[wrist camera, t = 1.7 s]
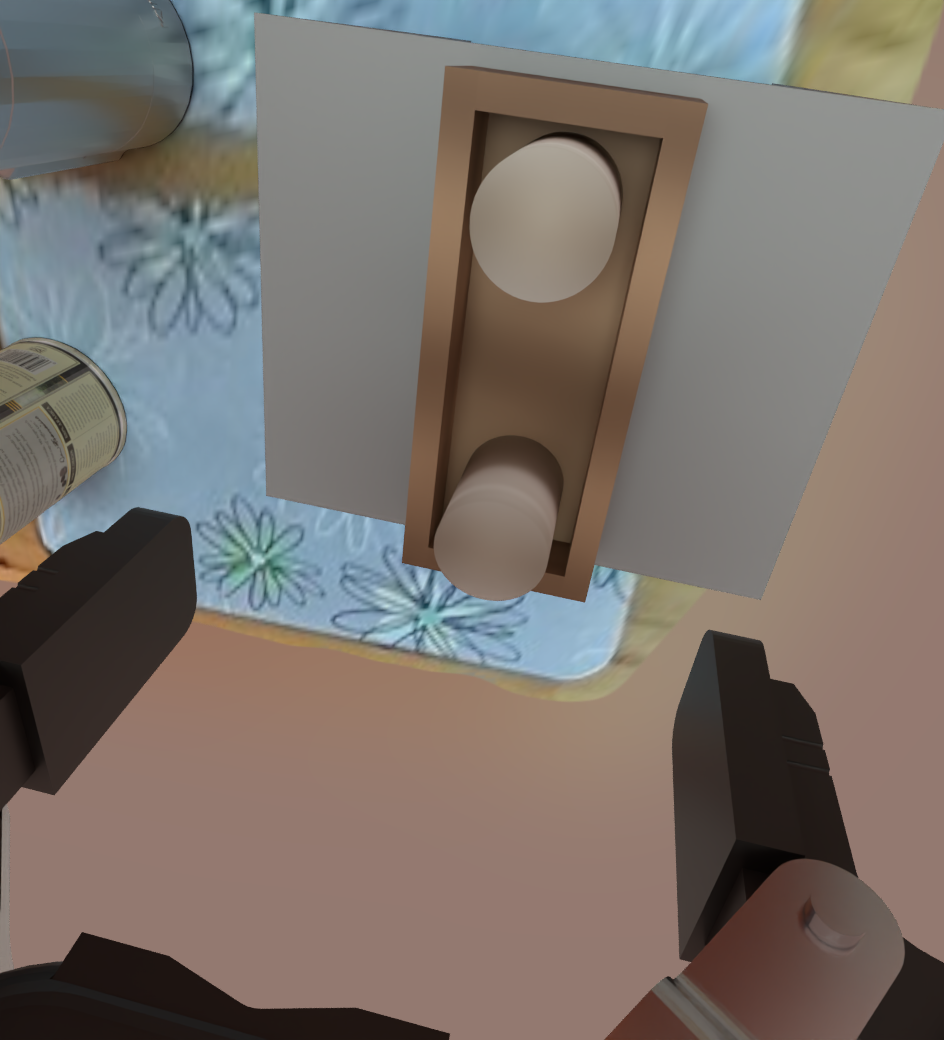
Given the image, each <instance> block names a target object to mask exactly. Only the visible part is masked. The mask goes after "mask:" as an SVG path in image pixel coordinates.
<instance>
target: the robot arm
mask: <svg viewBox="0 0 944 1040" xmlns="http://www.w3.org/2000/svg"><path fill="white" fill-rule="evenodd" d="M191 88H192V61H191V55H190V49H189V43H188V40H187V37H186V34H185V31H184V29H183V26H182V23H181V21H180V19H179V17H178V15H177V13H176V11H175V9H174V7H173V5H172V3H171V2H170V1H169V0H0V177H1V178H4V179H17V178H22V177H28V176H33V175H39V174H44V173H50V172H55V171H61V170H67V169H72V168H78V167H83V166H89V165H94V164H100V163H105V162H111V161H117V160H119V159H120V157H121V156H122V154H123V153H124V152H125V151H126V150H128V149H134V148H141V147H147V146H150V145H152V144H155V143H157V142H159V141H162V140H163V139H164V138H165V137H167V136H168V135H169V134H170V133H172V132H173V131H174V129H175V128H176V126H177V125H178V124H179V122H180V121H181V120H182V118H183V116H184V113H185V111H186V108H187V106H188V103H189V99H190V93H191ZM196 603H197V592H196V580H195V569H194V558H193V547H192V536H191V528H190V524H189V522H188V520H187V519H186V518H185V517H182V516H178V515H173V514H168V513H164V512H159V511H154V510H149V509H145V508H140V507H136V508H133V509H131V510H130V511H128V512H127V513H126V514H125V515H124V516H122V517H121V518H120V519H119V520H118V521H117V522H116V523H114V524H113V525H112V526H111V527H110V528H109V529H107V530H106V531H105V532H104V533H103V532H99V531H95V532H93V533H91V534H89V535H86V536H84V537H82V538H80V539H77V540H75V541H73V542H71V543H68V544H66V545H64V546H62V547H61V548H60V549H58V550H57V551H56V552H55V553H54V554H52V555H51V556H50V557H49V558H47V559H46V560H45V561H44V562H43V563H41V564H40V565H39V566H38V570H37V571H34V570H33V571H32V572H30V573H29V574H28V575H27V576H26V577H24V578H23V579H22V580H21V581H20V582H18V586H17V587H16V588H11V589H10V590H9V591H7V592H6V593H5V594H4V595H3V596H2V597H0V1040H449V1036H450V1034H449V1033H446V1032H442V1031H438V1030H434V1029H431V1028H427V1027H424V1026H420V1025H417V1024H413V1023H409V1022H406V1021H402V1020H399V1019H395V1018H391V1017H388V1016H384V1015H380V1014H376V1013H373V1012H370V1011H366V1010H362V1009H359V1008H298V1009H297V1008H296V1009H295V1008H293V1009H256V1008H251V1007H247V1006H245V1005H243V1004H241V1003H240V1002H238V1001H237V1000H235V999H234V998H232V997H230V996H229V995H227V994H226V993H225V992H223V991H221V990H220V989H218V988H217V987H215V986H214V985H212V984H211V983H209V982H208V981H206V980H205V979H203V978H202V977H200V976H199V975H197V974H195V973H194V972H192V971H191V970H189V969H188V968H186V967H185V966H183V965H182V964H180V963H179V962H177V961H176V960H174V959H173V958H171V957H170V956H167V955H163V954H160V953H156V952H152V951H149V950H145V949H141V948H138V947H134V946H131V945H127V944H123V943H120V942H116V941H112V940H109V939H105V938H102V937H98V936H94V935H91V934H87V933H83V932H82V933H81V935H80V936H79V938H78V939H77V941H76V942H75V944H74V945H73V947H72V949H71V950H70V952H69V953H68V955H67V956H66V958H65V959H64V961H63V962H51V963H44V964H37V965H29V966H26V967H21V968H17V969H14V966H13V962H12V955H11V947H10V934H9V892H10V889H9V888H10V887H9V886H10V882H9V881H10V816H9V810H8V807H7V803H8V801H10V799H11V798H12V797H13V796H14V795H15V794H16V792H17V791H18V790H19V789H20V788H21V787H24V788H28V789H32V790H36V791H40V792H44V793H48V794H51V795H55V794H56V793H57V791H58V790H59V789H60V788H61V786H62V785H63V784H64V783H65V782H66V780H67V779H68V778H69V777H70V775H71V774H72V773H73V772H74V770H75V769H76V768H77V767H78V765H79V764H80V763H81V762H82V760H83V759H84V758H85V757H86V755H87V754H88V753H89V752H90V751H91V749H92V748H93V747H94V746H95V745H96V743H97V742H98V741H99V740H100V738H101V737H102V736H103V735H104V733H105V732H106V731H107V730H108V729H109V727H110V726H111V725H112V724H113V722H114V721H115V720H116V719H117V717H118V716H119V715H120V714H121V712H122V711H123V710H124V709H125V708H126V706H127V705H128V704H129V703H130V701H131V700H132V699H133V698H134V696H135V695H136V694H137V693H138V691H139V690H140V689H141V688H142V687H143V685H144V684H145V683H146V682H147V680H148V679H149V678H150V677H151V676H152V674H153V673H154V672H155V671H156V669H157V668H158V667H159V666H160V664H161V663H162V662H163V661H164V659H165V658H166V657H167V656H168V655H169V653H170V652H171V651H172V650H173V648H174V647H175V646H176V645H177V643H178V642H179V641H180V640H181V638H182V637H183V636H184V635H185V633H186V632H187V630H188V628H189V626H190V624H191V622H192V619H193V616H194V613H195V609H196ZM672 758H673V759H672V760H673V787H674V815H675V843H676V871H677V901H678V927H679V957H680V959H681V960H685V961H689V962H691V963H690V964H689V965H688V966H687V967H686V968H685V969H684V970H683V971H682V973H680V974H679V975H678V976H677V977H676V978H675V979H672V978H671V977H666V978H664V979H662V980H661V981H660V982H659V983H658V984H656V985H655V986H654V987H653V988H652V989H651V990H650V991H649V992H648V993H647V994H646V995H645V996H644V997H643V998H642V1000H641V1001H640V1002H639V1003H638V1004H637V1005H636V1006H635V1007H634V1008H633V1009H632V1010H631V1011H630V1012H629V1014H628V1015H627V1016H626V1017H625V1018H624V1019H623V1020H622V1021H621V1022H620V1023H619V1024H618V1026H616V1028H615V1029H614V1030H613V1031H612V1032H611V1033H610V1034H609V1035H608V1036H607V1037H606V1038H605V1039H604V1040H944V963H943V962H941V961H939V960H937V959H936V958H934V957H932V956H930V955H929V954H927V953H925V952H923V951H922V950H920V949H918V948H917V947H915V946H914V945H913V944H911V943H910V942H909V941H907V940H906V939H905V938H903V937H902V933H901V930H900V928H899V926H898V923H897V921H896V919H895V918H894V916H893V914H892V913H891V911H890V909H889V908H888V907H887V905H886V904H885V903H884V902H883V900H882V899H881V898H880V897H879V896H878V895H877V894H876V893H875V892H874V891H873V890H872V889H871V888H870V887H869V886H868V885H866V884H865V883H864V882H863V881H862V880H860V879H859V878H858V876H857V873H856V869H855V865H854V861H853V858H852V853H851V849H850V846H849V842H848V838H847V834H846V831H845V826H844V823H843V819H842V815H841V811H840V807H839V803H838V799H837V796H836V791H835V787H834V784H833V780H832V776H829V770H830V768H829V764H828V760H827V757H826V753H825V750H823V741H822V737H821V734H820V730H819V725H818V722H817V718H816V714H815V712H814V711H813V710H812V708H811V707H810V706H809V704H808V703H807V701H806V700H805V699H804V698H803V696H802V695H801V693H800V692H799V691H798V689H797V688H796V687H795V685H794V684H792V683H787V682H782V681H778V680H773V679H770V675H769V670H768V665H767V660H766V655H765V650H764V646H763V643H762V642H761V641H760V640H755V639H750V638H746V637H741V636H736V635H731V634H727V633H722V632H717V631H713V630H708V631H707V632H706V633H705V635H704V637H703V639H702V641H701V644H700V647H699V649H698V652H697V655H696V658H695V661H694V663H693V667H692V669H691V672H690V675H689V678H688V680H687V683H686V686H685V689H684V692H683V694H682V697H681V700H680V703H679V706H678V709H677V713H676V718H675V723H674V729H673V739H672Z"/></svg>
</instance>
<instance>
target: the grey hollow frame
mask: <svg viewBox="0 0 944 1040" xmlns="http://www.w3.org/2000/svg"><path fill="white" fill-rule="evenodd" d="M254 24H255V63H256V103H257V142H258V182H259V222H260V261H261V301H262V341H263V380H264V420H265V460H266V496H270V497H275V498H280V499H285V500H289V501H294V502H299V503H304V504H308V505H313V506H318V507H323V508H327V509H332V510H337V511H342V512H346V513H351V514H356V515H361V516H365V517H370V518H375V519H380V520H384V521H389V522H394V523H399V524H403V525H405V522H406V511H407V499H408V488H409V476H410V465H411V453H412V442H413V430H414V419H415V407H416V396H417V384H418V372H419V361H420V349H421V338H422V326H423V315H424V303H425V292H426V280H427V269H428V257H429V246H430V234H431V222H432V211H433V199H434V188H435V176H436V165H437V153H438V142H439V130H440V119H441V107H442V96H443V84H444V72H445V66H477V67H484V68H491V69H498V70H505V71H512V72H519V73H525V74H532V75H539V76H546V77H553V78H560V79H567V80H574V81H581V82H588V83H595V84H602V85H609V86H616V87H623V88H630V89H637V90H644V91H651V92H658V93H664V94H671V95H678V96H685V97H692V98H699V99H702V100H704V101H705V102H706V103H708V108H707V112H706V116H705V120H704V124H703V128H702V132H701V136H700V140H699V144H698V148H697V152H696V156H695V160H694V164H693V168H692V172H691V176H690V180H689V184H688V188H687V192H686V196H685V201H684V205H683V209H682V213H681V217H680V221H679V225H678V229H677V233H676V237H675V241H674V245H673V249H672V253H671V257H670V261H669V265H668V269H667V273H666V277H665V281H664V285H663V289H662V293H661V297H660V301H659V305H658V310H657V314H656V318H655V322H654V326H653V330H652V334H651V338H650V342H649V346H648V350H647V354H646V358H645V362H644V366H643V370H642V374H641V378H640V382H639V386H638V390H637V394H636V398H635V402H634V406H633V410H632V414H631V418H630V423H629V427H628V431H627V435H626V439H625V443H624V447H623V451H622V455H621V459H620V463H619V467H618V471H617V475H616V479H615V483H614V487H613V491H612V495H611V499H610V503H609V507H608V511H607V515H606V519H605V523H604V527H603V532H602V536H601V540H600V544H599V548H598V552H597V556H596V560H595V564H594V565H598V566H603V567H607V568H612V569H617V570H622V571H626V572H631V573H636V574H641V575H645V576H650V577H655V578H659V579H664V580H669V581H674V582H678V583H683V584H688V585H693V586H697V587H702V588H707V589H712V590H716V591H721V592H726V593H731V594H735V595H740V596H745V597H750V598H755V599H759V600H761V598H762V596H763V593H764V591H765V588H766V586H767V583H768V581H769V578H770V575H771V573H772V571H773V568H774V566H775V563H776V561H777V558H778V556H779V553H780V550H781V548H782V545H783V543H784V540H785V538H786V535H787V533H788V530H789V528H790V525H791V522H792V520H793V518H794V515H795V513H796V510H797V508H798V505H799V503H800V500H801V498H802V495H803V493H804V490H805V488H806V485H807V483H808V480H809V478H810V475H811V473H812V470H813V468H814V465H815V463H816V460H817V458H818V455H819V453H820V450H821V448H822V445H823V443H824V440H825V438H826V435H827V433H828V430H829V428H830V425H831V423H832V420H833V418H834V415H835V413H836V410H837V408H838V405H839V403H840V400H841V397H842V395H843V393H844V390H845V388H846V385H847V382H848V380H849V378H850V375H851V373H852V370H853V368H854V365H855V362H856V360H857V358H858V355H859V353H860V350H861V348H862V345H863V342H864V340H865V337H866V334H867V332H868V330H869V327H870V325H871V322H872V320H873V317H874V315H875V312H876V310H877V307H878V305H879V302H880V300H881V297H882V295H883V292H884V290H885V287H886V285H887V282H888V280H889V277H890V275H891V272H892V270H893V267H894V265H895V262H896V260H897V257H898V255H899V252H900V249H901V247H902V245H903V242H904V240H905V237H906V235H907V232H908V230H909V227H910V225H911V222H912V220H913V217H914V215H915V212H916V209H917V207H918V204H919V202H920V199H921V197H922V194H923V192H924V190H925V187H926V185H927V182H928V179H929V177H930V175H931V172H932V170H933V167H934V165H935V162H936V159H937V157H938V154H939V152H940V149H941V146H942V144H943V142H944V109H938V108H931V107H925V106H917V105H912V104H905V103H899V102H892V101H886V100H879V99H873V98H866V97H860V96H853V95H847V94H840V93H834V92H827V91H821V90H814V89H808V88H801V87H794V86H787V85H780V84H773V83H772V85H768V84H761V83H754V82H746V81H739V80H732V79H725V78H718V77H711V76H704V75H697V74H690V73H682V72H675V71H668V70H661V69H654V68H647V67H640V66H633V65H626V64H618V63H611V62H604V61H597V60H590V59H583V58H576V57H569V56H562V55H555V54H547V53H540V52H533V51H526V50H519V49H512V48H505V47H498V46H491V45H483V44H476V43H471V41H466V40H459V39H452V38H445V37H438V36H430V35H422V34H415V33H407V32H399V31H392V30H384V29H376V28H369V27H361V26H353V25H346V24H338V23H330V22H323V21H315V20H307V19H300V18H292V17H284V16H277V15H269V14H261V13H254Z"/></svg>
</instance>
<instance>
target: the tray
mask: <svg viewBox="0 0 944 1040" xmlns="http://www.w3.org/2000/svg"><path fill="white" fill-rule="evenodd" d="M707 108H708V103H706V102H705V101H704V100H702V99H699V98H692V97H685V96H678V95H671V94H664V93H658V92H651V91H644V90H637V89H630V88H623V87H616V86H609V85H602V84H595V83H588V82H581V81H574V80H567V79H560V78H553V77H546V76H539V75H532V74H525V73H519V72H512V71H505V70H498V69H491V68H484V67H477V66H445V72H444V84H443V96H442V107H441V119H440V130H439V142H438V153H437V165H436V176H435V188H434V199H433V211H432V222H431V234H430V246H429V257H428V269H427V280H426V292H425V303H424V315H423V326H422V338H421V349H420V361H419V372H418V384H417V396H416V407H415V419H414V430H413V442H412V453H411V465H410V476H409V488H408V499H407V511H406V522H405V534H404V545H403V557H402V563H405V564H409V565H414V566H419V567H423V568H428V569H433V570H437V571H442V573H443V574H444V576H445V577H446V578H447V579H448V580H449V581H450V582H451V583H452V584H453V585H454V586H456V587H457V588H458V589H460V590H461V591H463V592H465V593H467V594H469V595H471V596H474V597H477V598H480V599H485V600H493V601H502V600H510V599H514V598H517V597H520V596H522V595H524V594H526V593H528V592H529V591H534V592H539V593H544V594H548V595H553V596H557V597H562V598H567V599H571V600H576V601H581V602H585V600H586V596H587V592H588V588H589V584H590V580H591V576H592V572H593V568H594V564H595V560H596V556H597V552H598V548H599V544H600V540H601V536H602V532H603V527H604V523H605V519H606V515H607V511H608V507H609V503H610V499H611V495H612V491H613V487H614V483H615V479H616V475H617V471H618V467H619V463H620V459H621V455H622V451H623V447H624V443H625V439H626V435H627V431H628V427H629V423H630V418H631V414H632V410H633V406H634V402H635V398H636V394H637V390H638V386H639V382H640V378H641V374H642V370H643V366H644V362H645V358H646V354H647V350H648V346H649V342H650V338H651V334H652V330H653V326H654V322H655V318H656V314H657V310H658V305H659V301H660V297H661V293H662V289H663V285H664V281H665V277H666V273H667V269H668V265H669V261H670V257H671V253H672V249H673V245H674V241H675V237H676V233H677V229H678V225H679V221H680V217H681V213H682V209H683V205H684V201H685V196H686V192H687V188H688V184H689V180H690V176H691V172H692V168H693V164H694V160H695V156H696V152H697V148H698V144H699V140H700V136H701V132H702V128H703V124H704V120H705V116H706V112H707Z"/></svg>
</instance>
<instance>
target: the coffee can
mask: <svg viewBox="0 0 944 1040" xmlns="http://www.w3.org/2000/svg"><path fill="white" fill-rule="evenodd" d="M126 431H127V424H126V418H125V413H124V409H123V406H122V403H121V401H120V399H119V396H118V394H117V392H116V390H115V389H114V387H113V386H112V384H111V383H110V381H109V379H108V378H107V377H106V376H105V374H104V373H103V372H102V371H101V370H100V368H99V367H98V366H96V365H95V364H94V363H93V362H92V361H91V360H90V359H89V358H87V357H86V356H85V355H83V354H82V353H80V352H79V351H78V350H76V349H74V348H72V347H70V346H68V345H65V344H63V343H61V342H58V341H54V340H51V339H45V338H27V339H22V340H19V341H17V342H14V343H12V344H11V345H9V346H8V347H6V348H4V349H2V350H0V544H2V543H3V542H4V541H6V540H7V539H8V538H10V537H11V536H12V535H14V534H15V533H16V532H18V531H19V530H20V529H22V528H23V527H24V526H26V525H27V524H28V523H30V522H31V521H32V520H34V519H35V518H36V517H38V516H39V515H40V514H42V513H43V512H44V511H46V510H47V509H48V508H50V507H51V506H52V505H54V504H55V503H56V502H58V501H59V500H60V499H62V498H63V497H64V496H66V495H67V494H68V493H70V492H71V491H72V490H74V489H75V488H76V487H77V486H79V485H80V484H81V483H83V482H84V481H85V480H87V479H88V478H89V477H91V476H92V475H93V474H95V473H96V472H97V471H98V470H100V469H102V468H103V467H105V466H107V465H109V464H110V463H111V462H112V461H114V460H115V459H116V457H117V456H118V455H119V454H120V452H121V450H122V448H123V446H124V444H125V439H126Z"/></svg>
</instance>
